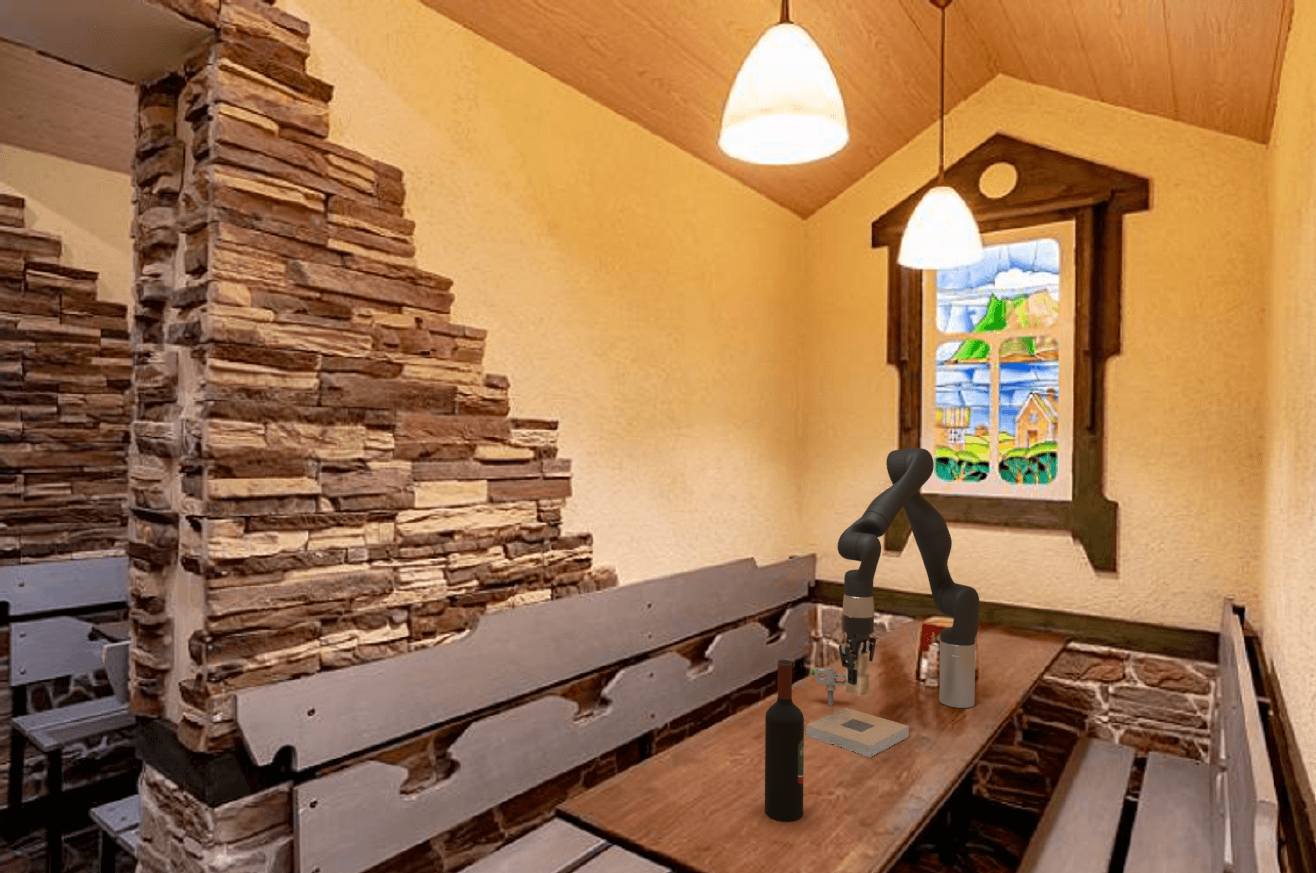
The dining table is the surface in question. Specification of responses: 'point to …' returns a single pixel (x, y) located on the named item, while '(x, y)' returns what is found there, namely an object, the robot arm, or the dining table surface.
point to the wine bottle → (784, 752)
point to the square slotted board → (857, 731)
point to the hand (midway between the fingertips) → (857, 681)
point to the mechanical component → (829, 680)
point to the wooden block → (860, 676)
